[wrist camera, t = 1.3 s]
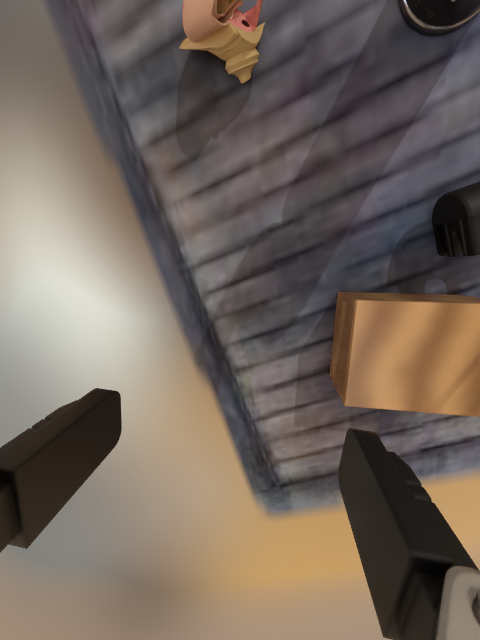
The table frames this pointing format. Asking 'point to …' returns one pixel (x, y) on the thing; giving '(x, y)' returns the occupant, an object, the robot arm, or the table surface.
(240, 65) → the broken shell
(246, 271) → the table surface
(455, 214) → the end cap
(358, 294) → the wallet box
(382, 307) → the box lid
